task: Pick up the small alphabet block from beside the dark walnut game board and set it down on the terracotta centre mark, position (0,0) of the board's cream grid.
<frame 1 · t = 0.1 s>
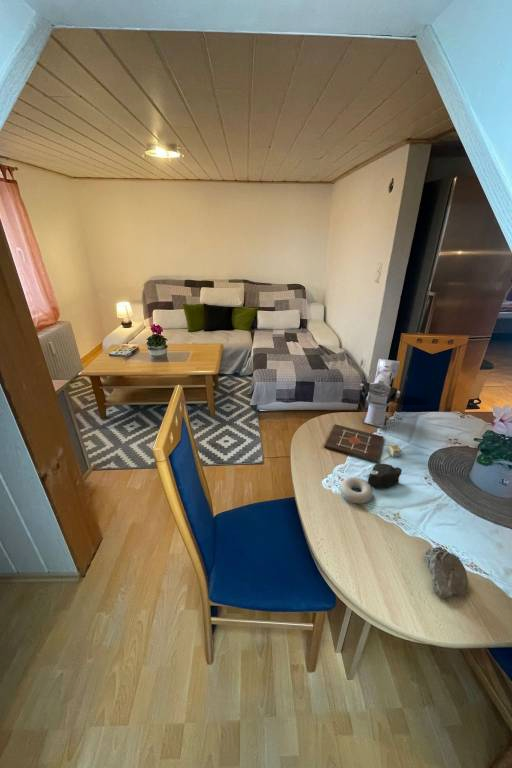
hand: (376, 398, 110), 22 cm above the table, tool horizontal, fingers open, 7 cm apart
alphabet block: (394, 454, 115), on the table
board: (354, 443, 121), on the table
brown rock: (441, 574, 75), on the table
mineral: (380, 481, 103), on the table
donut: (355, 494, 98), on the table
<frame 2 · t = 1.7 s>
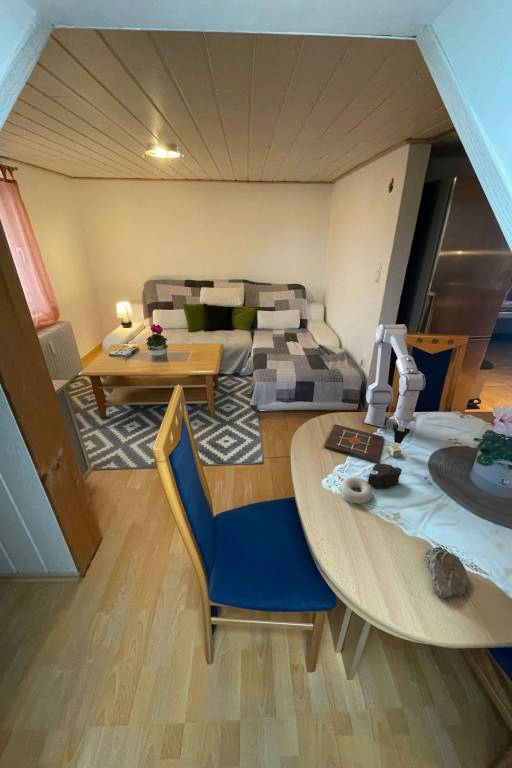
hand: (398, 436, 111), 8 cm above the table, tool pointing down, fingers open, 7 cm apart
nothing on the table moved.
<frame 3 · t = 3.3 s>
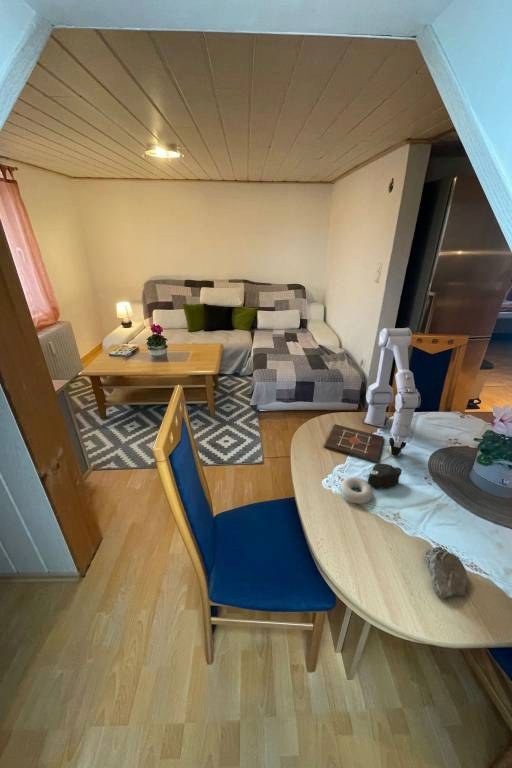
hand: (394, 451, 114), 1 cm above the table, tool pointing down, fingers closed on alphabet block, 4 cm apart
alphabet block: (394, 454, 115), on the table, touching gripper
everything else where it was.
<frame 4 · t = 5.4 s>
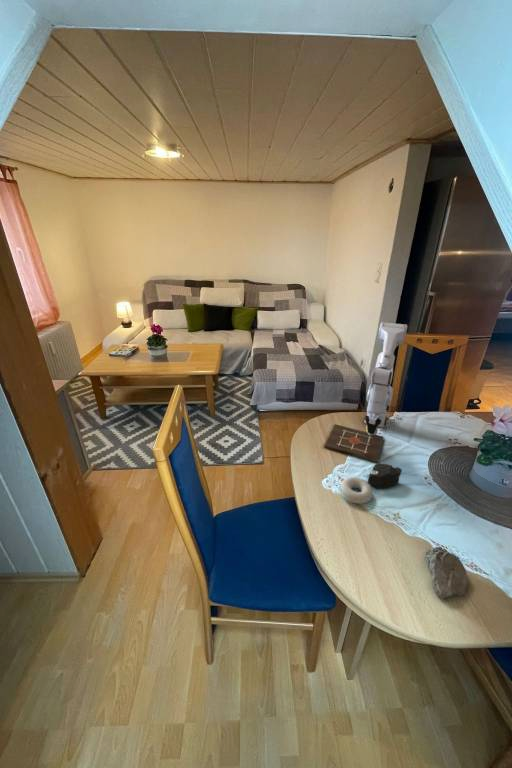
hand: (371, 429, 115), 8 cm above the table, tool pointing down, fingers closed on alphabet block, 4 cm apart
alphabet block: (371, 433, 116), point 7 cm above the table, touching gripper
everything else where it was.
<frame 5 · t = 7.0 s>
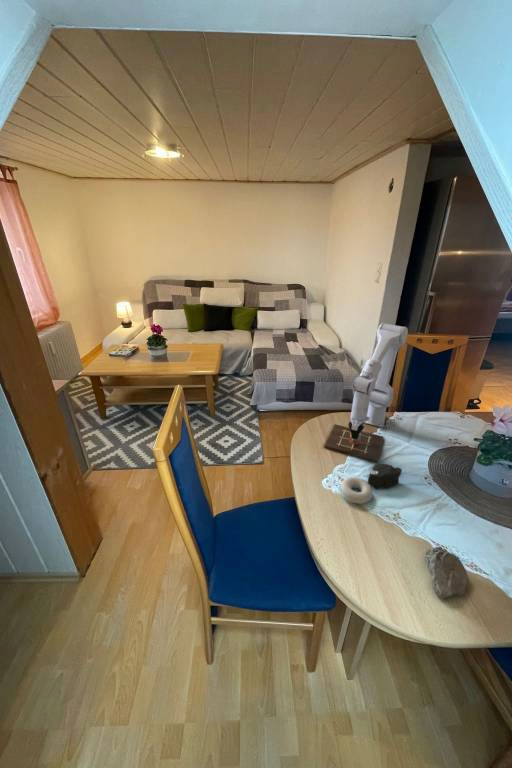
hand: (355, 435, 120), 4 cm above the table, tool pointing down, fingers closed on alphabet block, 4 cm apart
alphabet block: (355, 438, 120), point 2 cm above the table, touching gripper
everything else where it was.
when the fingers open (3 cm above the table, at t = 7.8 s): alphabet block stays where it is, resting on board.
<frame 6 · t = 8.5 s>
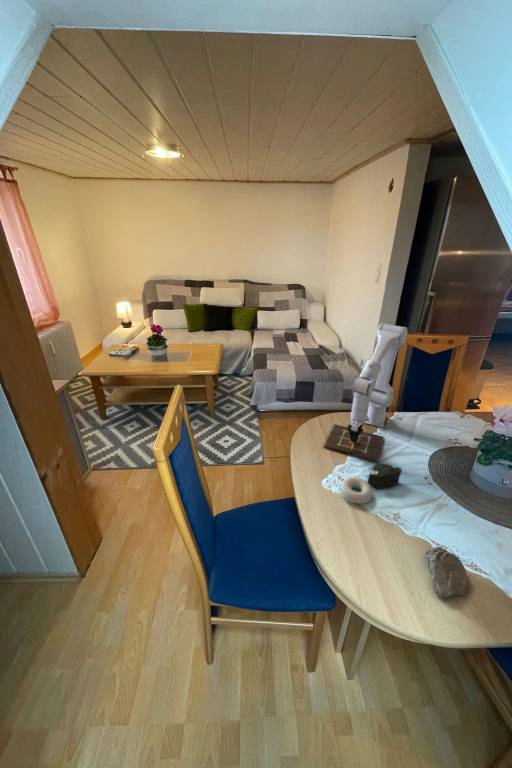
hand: (355, 436, 120), 4 cm above the table, tool pointing down, fingers open, 7 cm apart
alphabet block: (354, 440, 121), point 1 cm above the table, touching board
everything else where it was.
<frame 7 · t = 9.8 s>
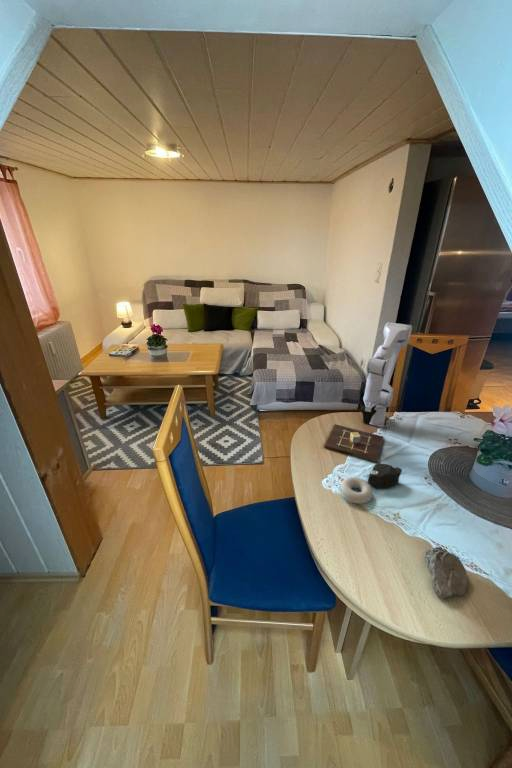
hand: (368, 418, 121), 9 cm above the table, tool pointing down, fingers open, 7 cm apart
nothing on the table moved.
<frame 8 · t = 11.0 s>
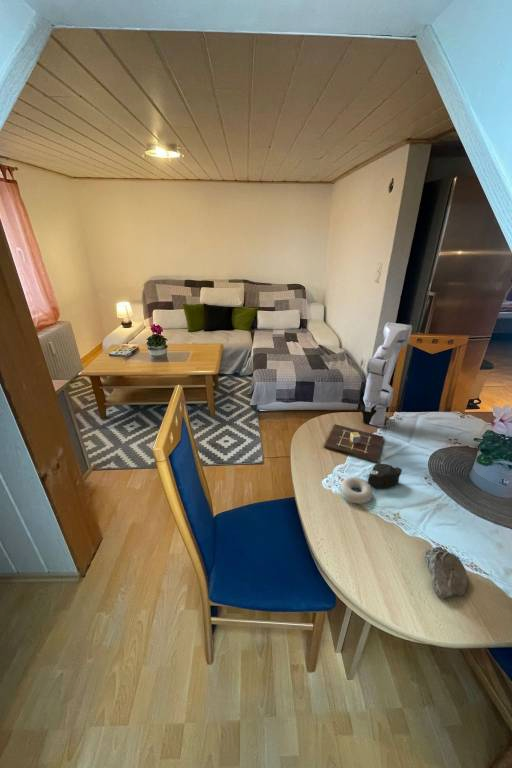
hand: (368, 418, 121), 9 cm above the table, tool pointing down, fingers open, 7 cm apart
nothing on the table moved.
at the end: alphabet block 0.0 cm from the target spot, point 1.1 cm above the table; alphabet block tilted 0°; the gripper is holding nothing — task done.
